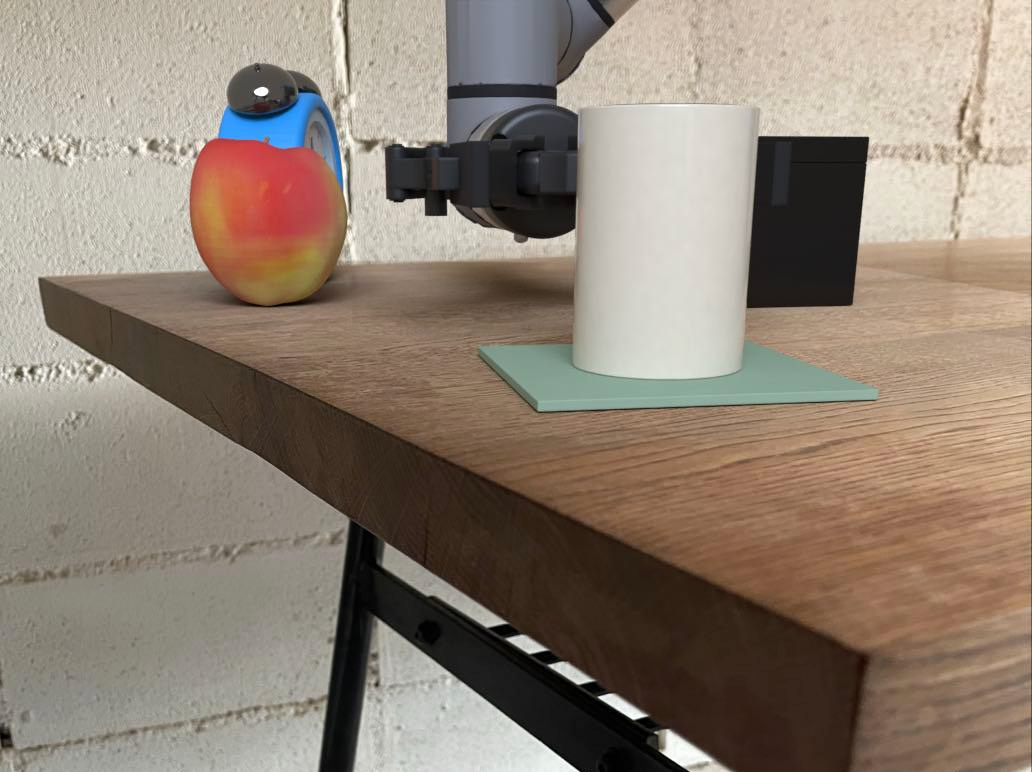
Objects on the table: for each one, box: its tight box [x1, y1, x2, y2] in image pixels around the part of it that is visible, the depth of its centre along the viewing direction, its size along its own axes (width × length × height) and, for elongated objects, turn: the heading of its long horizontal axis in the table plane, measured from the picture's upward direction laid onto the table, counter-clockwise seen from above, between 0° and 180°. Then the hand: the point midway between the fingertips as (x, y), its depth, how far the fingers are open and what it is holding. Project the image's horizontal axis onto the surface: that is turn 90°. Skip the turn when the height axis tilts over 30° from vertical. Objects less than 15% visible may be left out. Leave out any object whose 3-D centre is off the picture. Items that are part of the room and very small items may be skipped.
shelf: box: [746, 135, 870, 308], centre depth 75 cm, size 10×14×10 cm
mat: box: [477, 338, 880, 413], centre depth 47 cm, size 13×13×1 cm
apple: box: [188, 136, 349, 307], centre depth 70 cm, size 10×10×10 cm
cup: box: [572, 102, 761, 380], centre depth 45 cm, size 7×7×10 cm
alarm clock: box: [217, 62, 344, 193], centre depth 82 cm, size 13×6×15 cm, turn 174°
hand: (634, 174), depth 49 cm, fingers open, 13 cm apart
